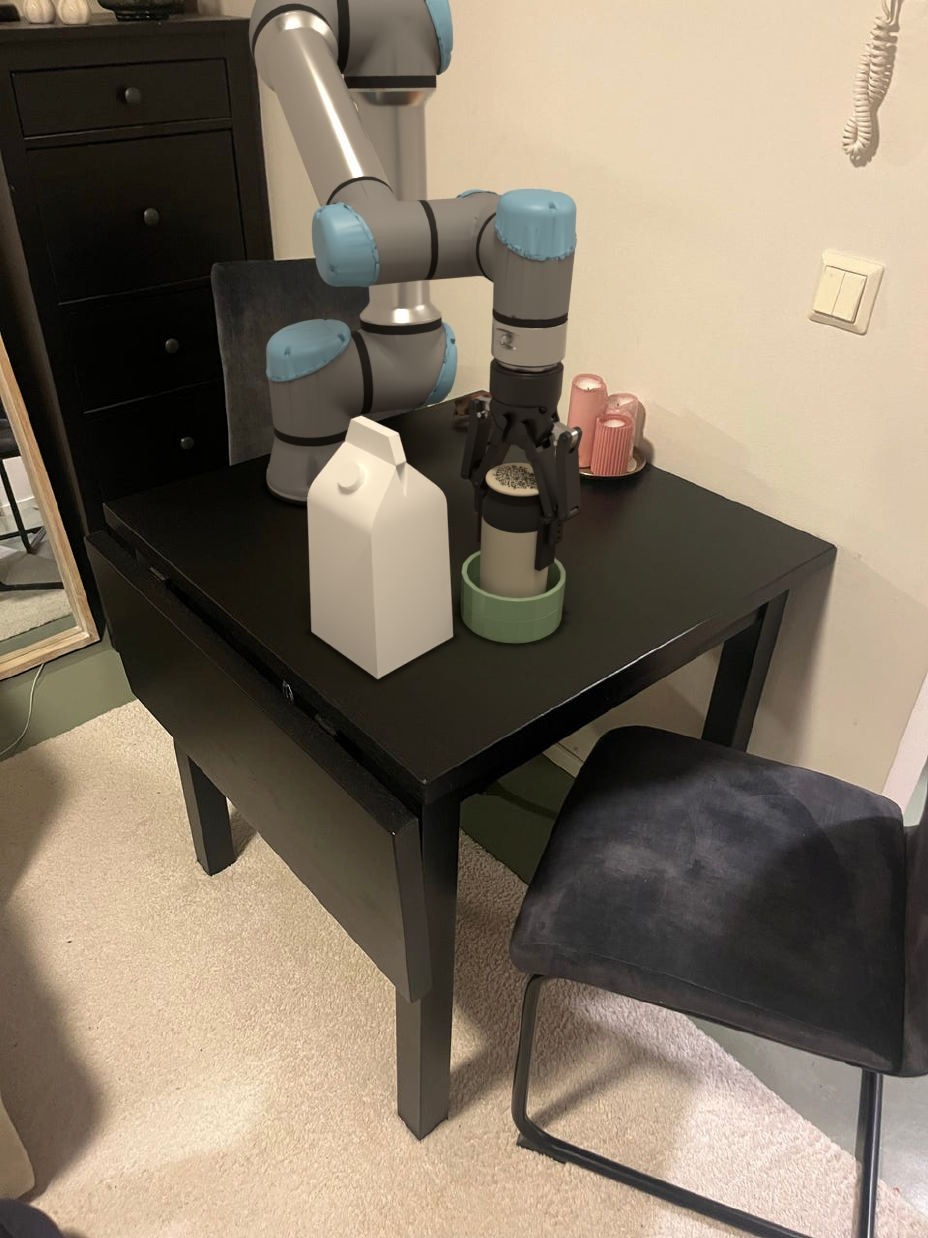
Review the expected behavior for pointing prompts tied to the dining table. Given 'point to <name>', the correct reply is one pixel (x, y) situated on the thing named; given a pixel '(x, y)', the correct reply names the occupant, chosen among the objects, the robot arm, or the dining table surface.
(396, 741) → the dining table surface
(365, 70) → the robot arm
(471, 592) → the pot
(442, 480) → the dining table surface
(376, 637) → the milk
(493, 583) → the travel mug
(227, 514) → the dining table surface
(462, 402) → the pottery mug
